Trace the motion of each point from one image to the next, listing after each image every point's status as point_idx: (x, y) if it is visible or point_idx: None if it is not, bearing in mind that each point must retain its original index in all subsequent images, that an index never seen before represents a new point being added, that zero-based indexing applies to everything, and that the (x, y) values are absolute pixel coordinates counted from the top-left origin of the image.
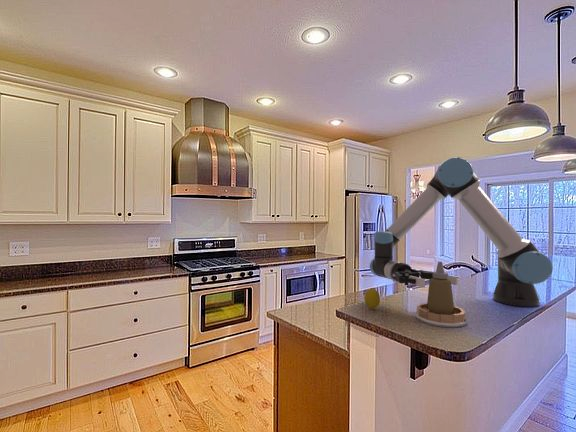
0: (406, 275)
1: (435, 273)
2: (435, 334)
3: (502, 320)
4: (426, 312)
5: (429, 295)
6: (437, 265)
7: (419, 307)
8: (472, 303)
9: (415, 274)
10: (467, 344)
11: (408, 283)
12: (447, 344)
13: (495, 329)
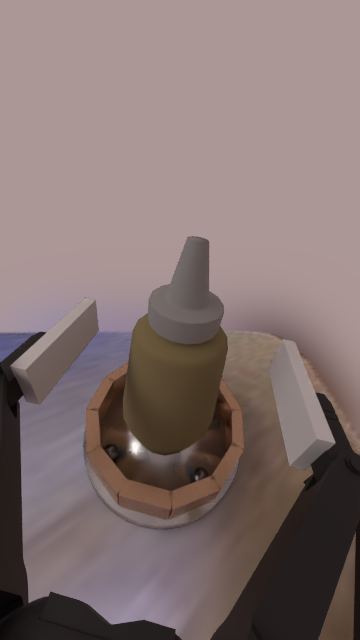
0: (357, 469)
1: (223, 305)
2: (263, 380)
3: None
4: (241, 415)
5: (215, 399)
6: (206, 267)
7: (228, 462)
8: None
9: (99, 617)
10: (241, 338)
11: (310, 476)
12: (273, 351)
13: (125, 337)
